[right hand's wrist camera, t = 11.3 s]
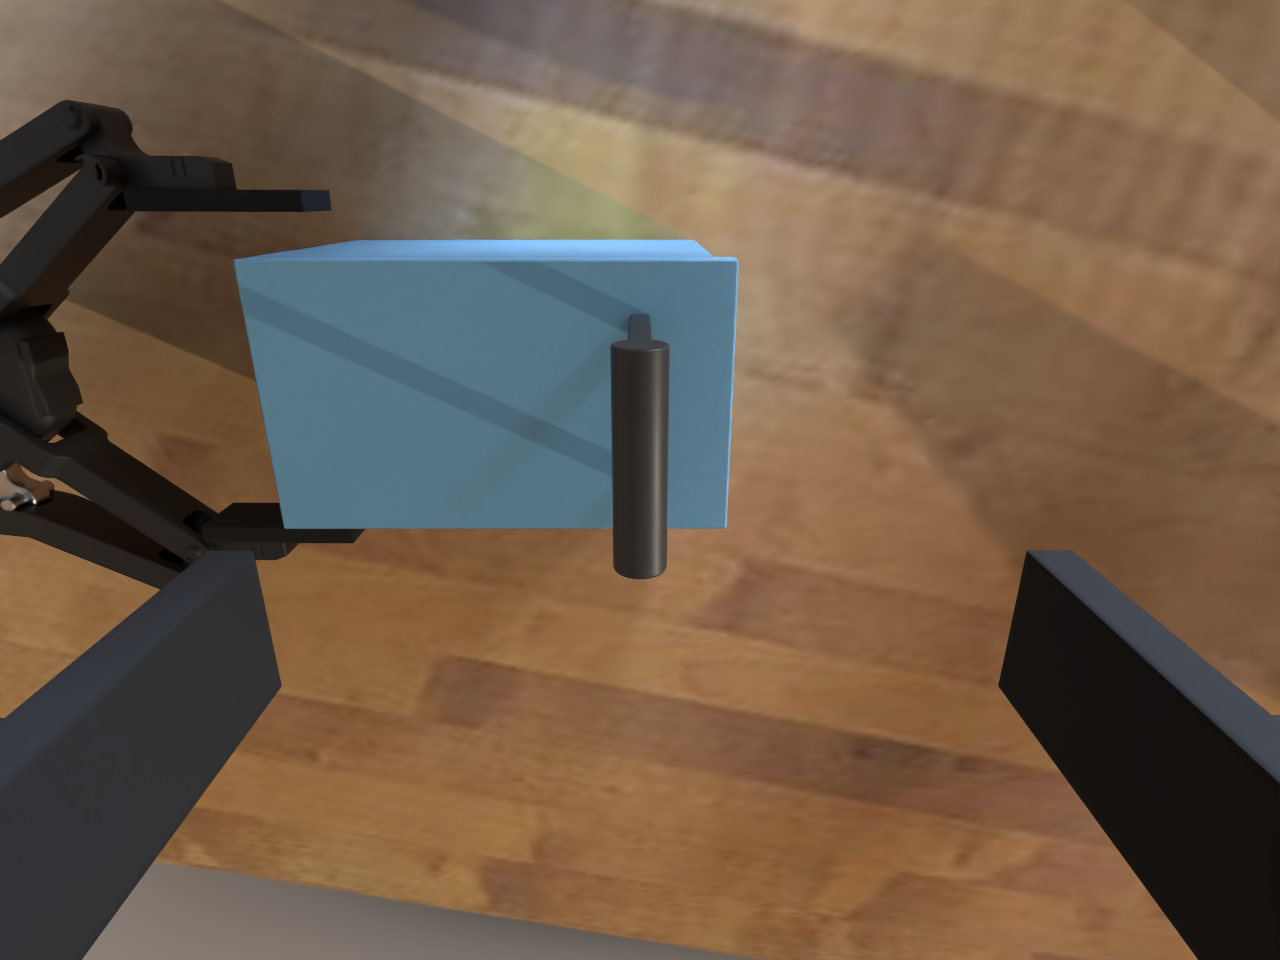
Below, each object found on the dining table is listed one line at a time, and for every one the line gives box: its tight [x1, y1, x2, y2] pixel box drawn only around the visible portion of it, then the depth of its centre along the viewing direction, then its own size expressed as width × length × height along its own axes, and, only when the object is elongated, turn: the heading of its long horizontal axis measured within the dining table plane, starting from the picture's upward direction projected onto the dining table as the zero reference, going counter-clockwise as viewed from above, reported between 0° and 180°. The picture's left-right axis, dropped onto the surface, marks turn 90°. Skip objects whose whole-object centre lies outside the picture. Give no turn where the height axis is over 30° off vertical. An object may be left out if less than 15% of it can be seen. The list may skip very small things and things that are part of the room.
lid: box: [233, 257, 739, 579], centre depth 23 cm, size 17×10×8 cm, turn 90°
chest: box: [252, 240, 714, 257], centre depth 32 cm, size 16×10×10 cm, turn 90°
